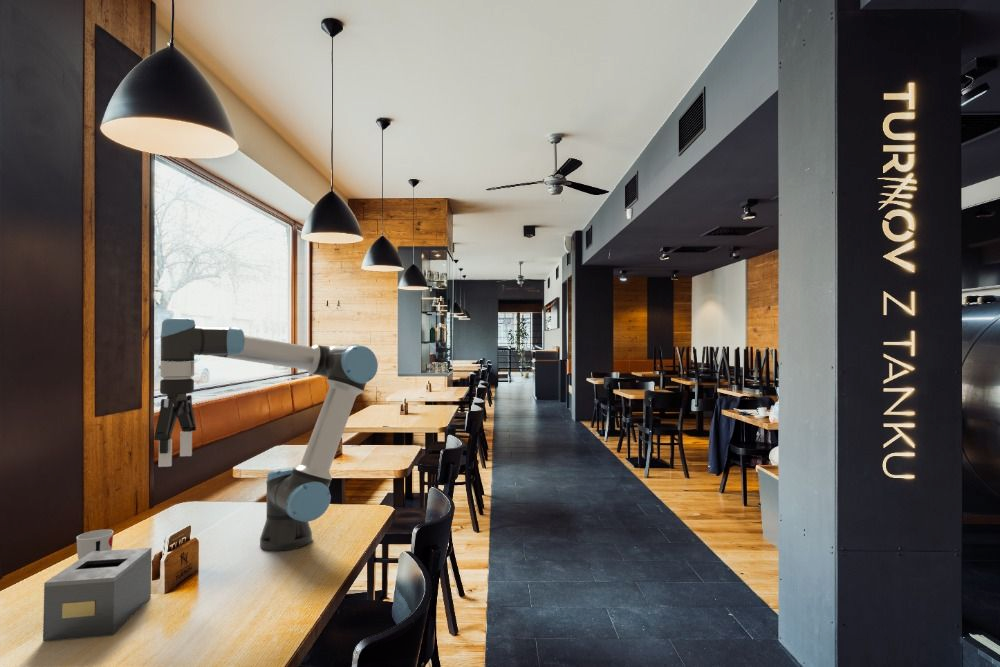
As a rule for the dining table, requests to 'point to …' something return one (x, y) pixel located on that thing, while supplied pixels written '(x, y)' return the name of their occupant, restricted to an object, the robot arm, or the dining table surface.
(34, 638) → the dining table surface
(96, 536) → the cup
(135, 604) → the tip box
